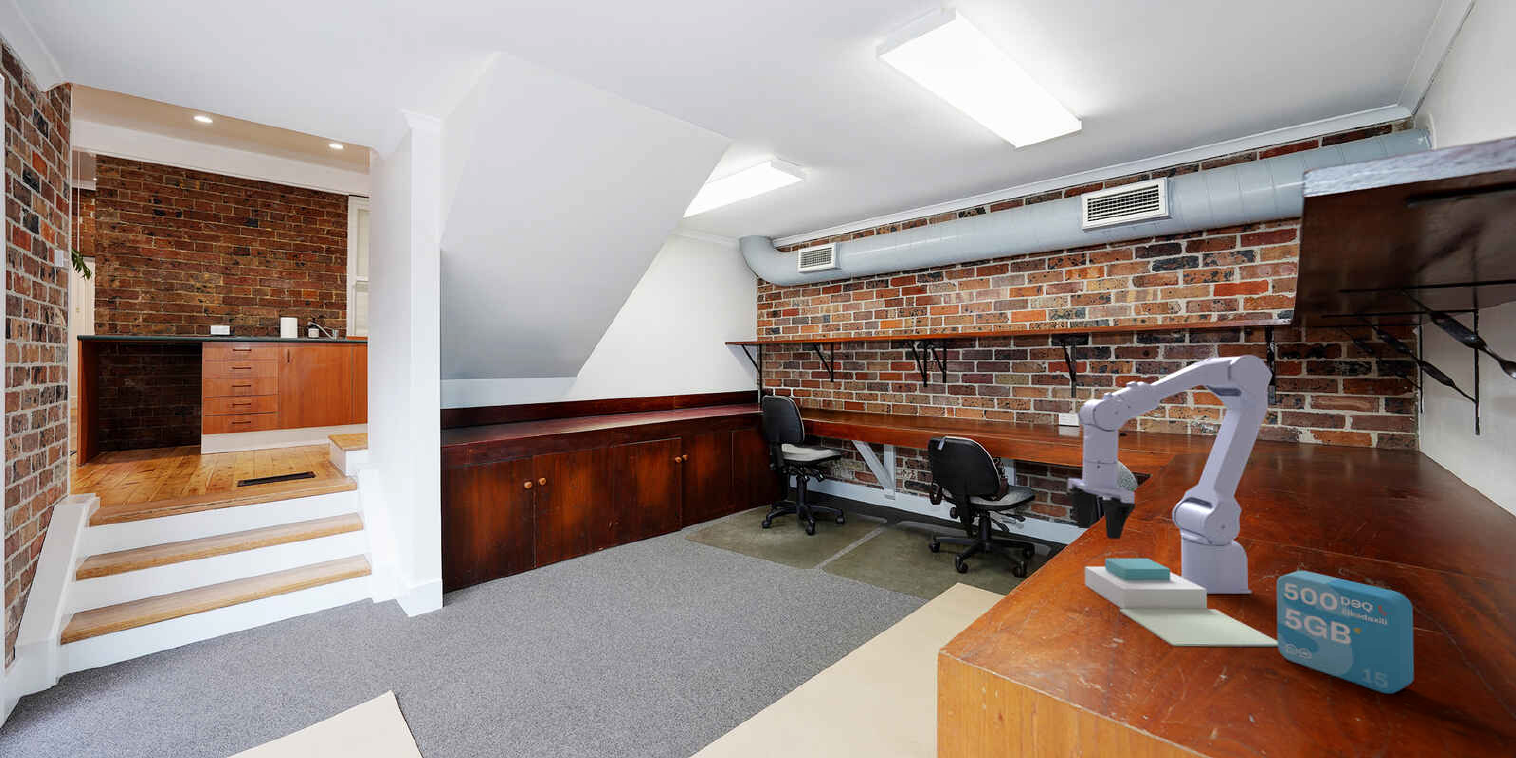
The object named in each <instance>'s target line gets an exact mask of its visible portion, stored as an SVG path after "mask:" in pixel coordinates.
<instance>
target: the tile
mask: <svg viewBox="0 0 1516 758" xmlns="http://www.w3.org/2000/svg"><path fill="white" fill-rule="evenodd" d="M1104 567H1105V569H1106V570H1107V571H1109V572H1111V573H1113V574H1115V575H1116V576H1118V577H1120V578H1122V579H1124V580H1170V572H1171V568H1169V567H1166V566H1164V565H1162V564H1160V563H1158V562H1156V561H1155V560H1152V559H1149V558H1105V559H1104Z"/></svg>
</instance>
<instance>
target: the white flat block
mask: <svg viewBox="0 0 1516 758" xmlns="http://www.w3.org/2000/svg"><path fill="white" fill-rule="evenodd" d="M1084 585H1085V586H1086V587H1087V588H1089V589H1090V590H1091V591H1094V592H1095V593H1097V594H1098V595H1100V596H1101V597H1103V598H1105V599H1106V600H1108V601H1109V602H1110V603H1112V604H1114V605H1115V606H1117V607H1119V609H1208V606H1207V605H1208V597H1207V596H1208V594H1207V589H1205V588H1203V587H1201V586H1199V585H1196V584H1194V583H1192V582H1190V581H1188V580H1186V579H1184V578H1182V576H1180V575H1178V574H1175V573H1174V572H1171V571H1170V580H1124V579H1122V578H1120V577H1118V576H1116V575H1115V574H1113V573H1111V572H1109V571H1107V570H1106V569H1105V566H1084Z"/></svg>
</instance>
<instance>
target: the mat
mask: <svg viewBox="0 0 1516 758" xmlns="http://www.w3.org/2000/svg"><path fill="white" fill-rule="evenodd" d="M1119 612H1120V613H1122V614H1123V615H1125V616H1127V617H1128V618H1130V619H1131V620H1133V621H1134V622H1136V623H1138V625H1140V626H1142V627H1143V628H1145V629H1146V630H1148V631H1149V632H1151V633H1153V634H1154V635H1155V636H1157V637H1159V638H1160V639H1162V640H1163V641H1165V642H1166V643H1167V644H1170V645H1171V646H1173V647H1278V640H1277V639H1274V638H1272V637H1271V636H1268V635H1266V634H1265V633H1263V632H1261V631H1258V630H1257V629H1255V628H1253V627H1250V626H1249V625H1247V624H1244V623H1243V622H1241V621H1239V620H1237V619H1235V618H1233V617H1230V616H1229V615H1227V614H1226V613H1223V612H1221V611H1219V610H1217V609H1216V608H1215V609H1214V608H1212V609H1210V608H1207V609H1122V608H1119Z"/></svg>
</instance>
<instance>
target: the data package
mask: <svg viewBox="0 0 1516 758" xmlns="http://www.w3.org/2000/svg"><path fill="white" fill-rule="evenodd" d="M1276 604H1277V605H1276V607H1277V608H1276V609H1277V611H1276V615H1277V617H1276V618H1277V619H1276V621H1277V641H1278V646H1277V648H1278V651H1279V652H1280V654H1281V655H1282V656H1283V657H1284V658H1285V659H1286V660H1288V661H1290V662H1292V663H1295V664H1298V665H1301V666H1304V667H1307V668H1309V669H1313V670H1316V671H1317V672H1318V671H1319V672H1322V673H1324V674H1327V675H1330V676H1333V677H1336V678H1339V679H1343V680H1344V681H1348V682H1350V683H1354V684H1356V685H1360V686H1362V687H1365V688H1368V689H1372V690H1373V691H1376V692H1380V693H1384V694H1395V693H1396V692H1399V691H1400V690H1402V689H1404V688H1406V687H1407V686H1409V685H1411V684H1412V683H1413V681H1414V677H1415V675H1414V674H1415V673H1414V624H1413V623H1414V622H1413V621H1414V619H1413V618H1414V615H1413V614H1414V613H1413V605H1412V602H1411V601H1410V600H1409V598H1408V597H1406V595H1405V594H1402V593H1401V592H1398V591H1394V590H1391V589H1387V588H1382V587H1379V586H1374V585H1369V584H1364V583H1361V582H1360V583H1359V582H1357V581H1352V580H1351V581H1350V580H1347V579H1342V578H1337V577H1333V576H1329V575H1324V574H1320V573H1317V572H1311V571H1307V570H1298V571H1294V572H1291V573H1287V574H1284V575H1281V576H1280V577H1279V578H1278V579H1277V582H1276Z"/></svg>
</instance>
